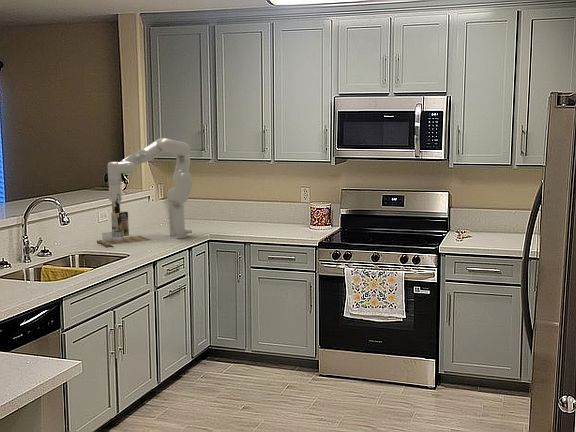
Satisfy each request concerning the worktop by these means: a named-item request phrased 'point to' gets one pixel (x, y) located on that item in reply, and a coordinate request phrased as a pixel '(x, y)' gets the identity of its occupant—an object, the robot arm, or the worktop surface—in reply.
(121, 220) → the coffee box
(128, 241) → the walnut board
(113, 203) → the brass pin
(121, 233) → the clear container
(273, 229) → the worktop surface
